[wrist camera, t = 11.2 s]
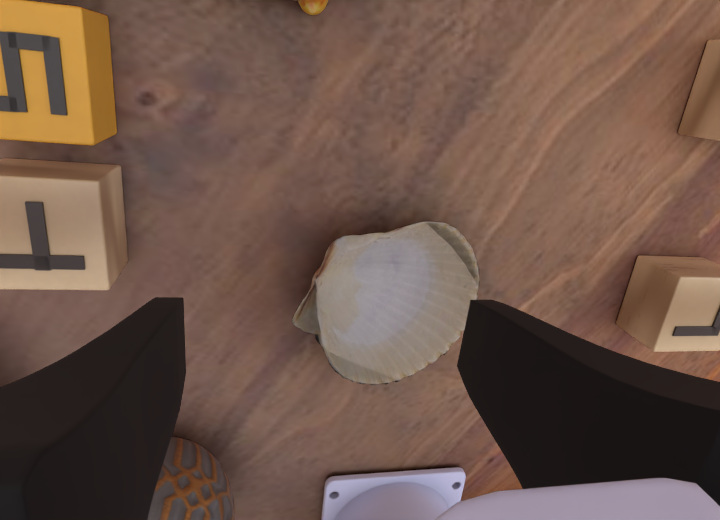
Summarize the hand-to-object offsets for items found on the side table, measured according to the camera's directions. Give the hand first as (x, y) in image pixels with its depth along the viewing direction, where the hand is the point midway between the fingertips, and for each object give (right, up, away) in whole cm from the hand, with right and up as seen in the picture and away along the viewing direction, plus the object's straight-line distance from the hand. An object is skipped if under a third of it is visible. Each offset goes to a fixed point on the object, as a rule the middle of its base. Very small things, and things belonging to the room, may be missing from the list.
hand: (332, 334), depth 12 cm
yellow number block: (-10, +8, +5) cm, 14 cm away
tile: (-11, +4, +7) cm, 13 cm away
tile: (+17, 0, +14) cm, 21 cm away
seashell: (+2, +1, +11) cm, 11 cm away
